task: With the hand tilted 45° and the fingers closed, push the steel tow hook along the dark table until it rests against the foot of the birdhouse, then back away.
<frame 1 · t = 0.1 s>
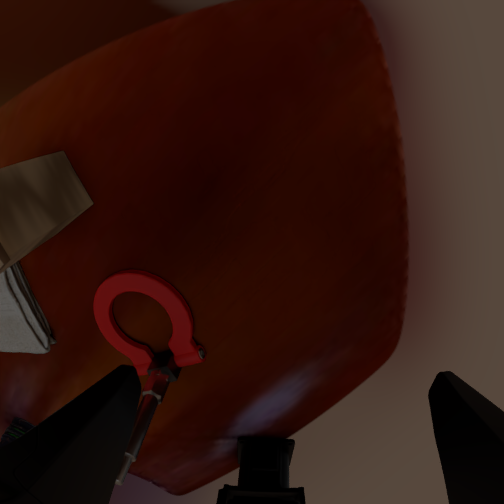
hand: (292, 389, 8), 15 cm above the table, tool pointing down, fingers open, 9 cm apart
birdhouse: (58, 193, 22), on the table
storage jar: (34, 434, 40), on the table
tow hook: (146, 319, 26), on the table
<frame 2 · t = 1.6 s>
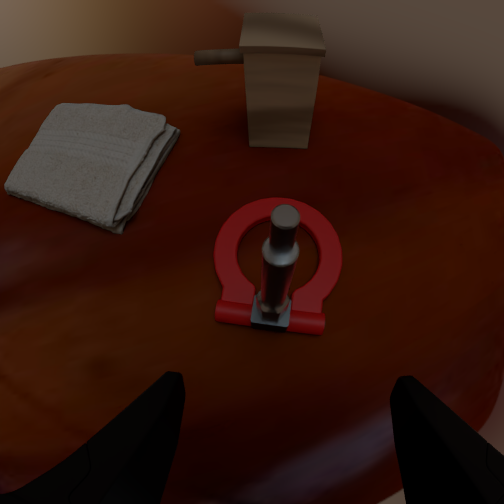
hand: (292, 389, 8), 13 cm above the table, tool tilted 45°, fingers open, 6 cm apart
birdhouse: (278, 126, 27), on the table
washcloth: (87, 166, 28), on the table
tow hook: (276, 264, 23), on the table
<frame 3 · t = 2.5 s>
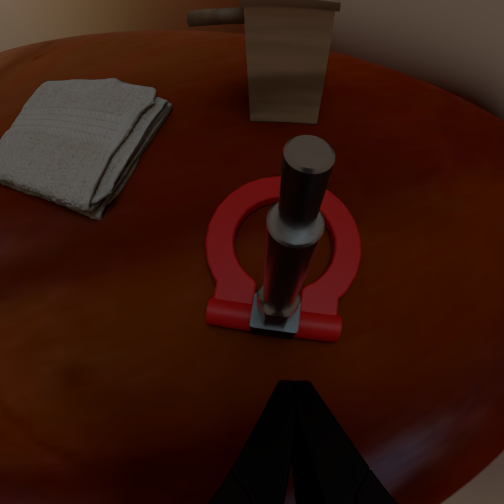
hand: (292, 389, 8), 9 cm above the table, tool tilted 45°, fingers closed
birdhouse: (283, 100, 23), on the table
washcloth: (69, 146, 24), on the table
tow hook: (282, 255, 19), on the table
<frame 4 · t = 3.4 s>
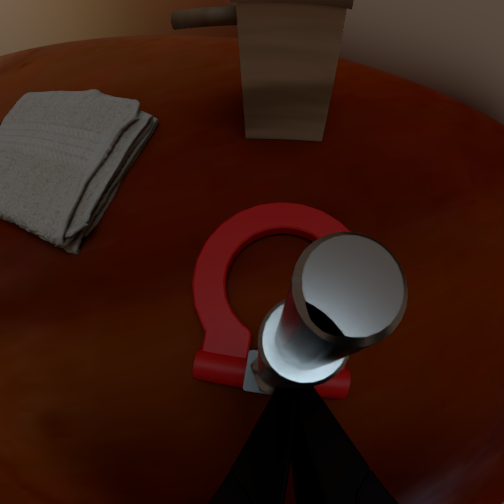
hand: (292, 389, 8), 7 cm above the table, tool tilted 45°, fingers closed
birdhouse: (283, 114, 21), on the table
washcloth: (48, 166, 21), on the table
tow hook: (282, 296, 16), on the table, touching gripper
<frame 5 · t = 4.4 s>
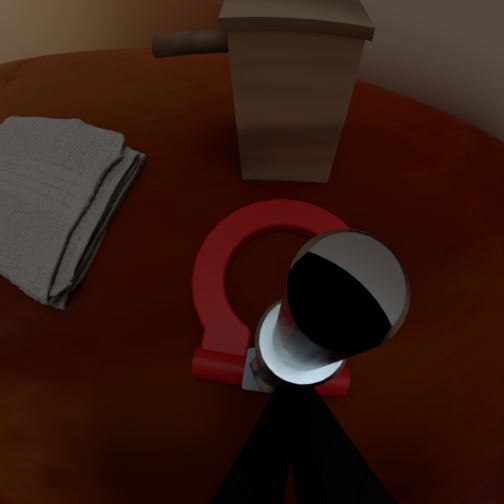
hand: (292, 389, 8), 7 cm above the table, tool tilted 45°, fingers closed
birdhouse: (284, 148, 19), on the table
washcloth: (32, 202, 20), on the table
tow hook: (281, 293, 16), on the table, touching gripper
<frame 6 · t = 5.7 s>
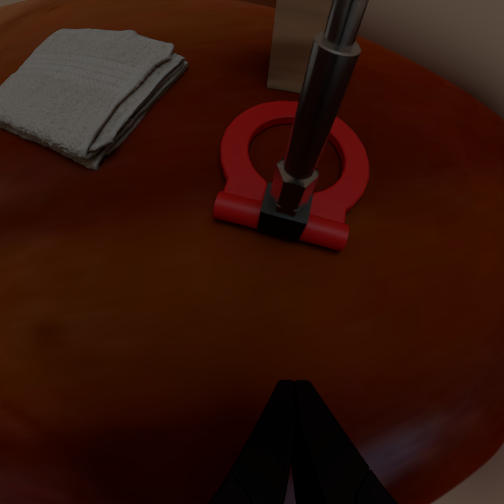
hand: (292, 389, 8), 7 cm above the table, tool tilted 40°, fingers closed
birdhouse: (302, 73, 22), on the table
washcloth: (74, 95, 21), on the table
tow hook: (292, 168, 19), on the table
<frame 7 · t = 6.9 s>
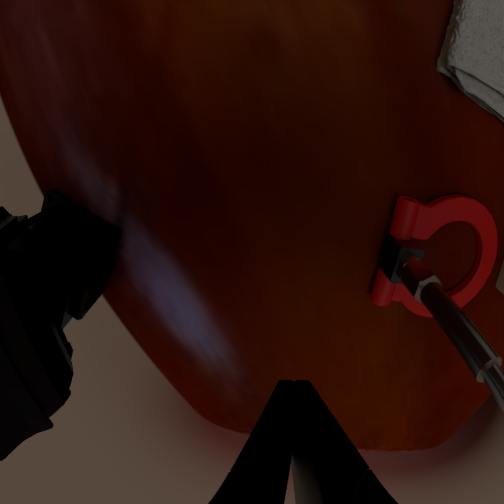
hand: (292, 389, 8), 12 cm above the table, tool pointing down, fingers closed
tow hook: (439, 253, 20), on the table
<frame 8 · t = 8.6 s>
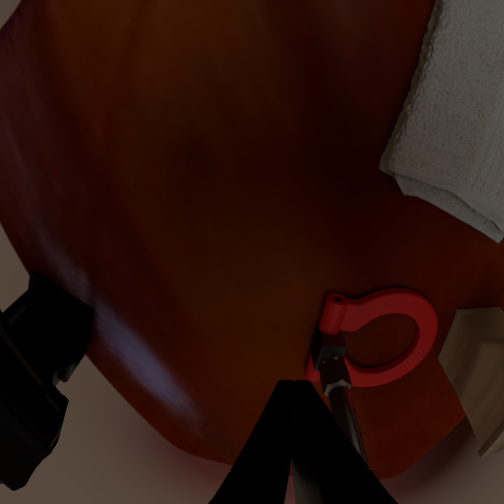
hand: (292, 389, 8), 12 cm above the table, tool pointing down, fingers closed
birdhouse: (469, 333, 21), on the table
washcloth: (481, 94, 15), on the table
tow hook: (374, 335, 22), on the table
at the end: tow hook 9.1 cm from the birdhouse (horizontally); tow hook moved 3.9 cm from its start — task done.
